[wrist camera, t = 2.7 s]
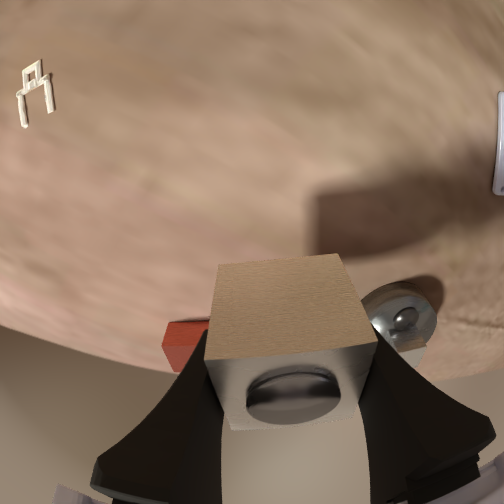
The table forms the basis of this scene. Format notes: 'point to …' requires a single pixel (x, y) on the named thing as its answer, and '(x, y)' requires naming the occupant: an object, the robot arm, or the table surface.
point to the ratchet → (376, 307)
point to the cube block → (287, 342)
